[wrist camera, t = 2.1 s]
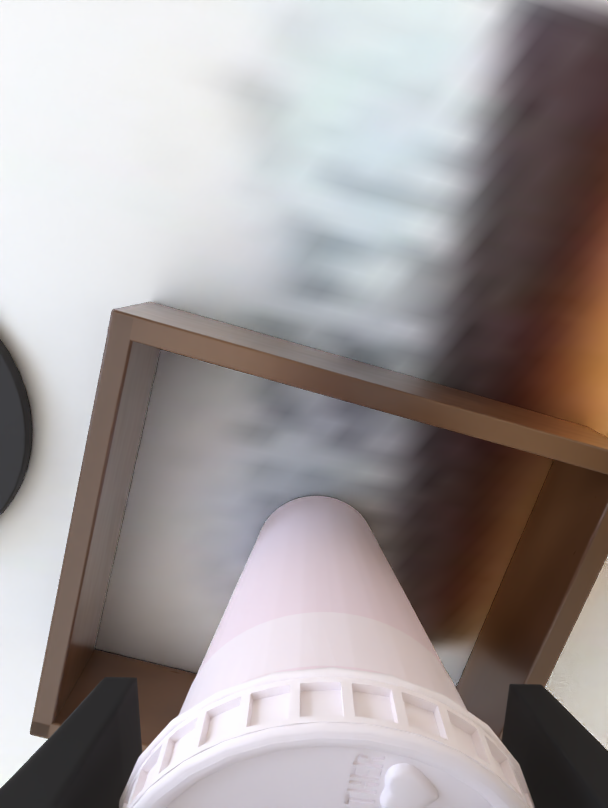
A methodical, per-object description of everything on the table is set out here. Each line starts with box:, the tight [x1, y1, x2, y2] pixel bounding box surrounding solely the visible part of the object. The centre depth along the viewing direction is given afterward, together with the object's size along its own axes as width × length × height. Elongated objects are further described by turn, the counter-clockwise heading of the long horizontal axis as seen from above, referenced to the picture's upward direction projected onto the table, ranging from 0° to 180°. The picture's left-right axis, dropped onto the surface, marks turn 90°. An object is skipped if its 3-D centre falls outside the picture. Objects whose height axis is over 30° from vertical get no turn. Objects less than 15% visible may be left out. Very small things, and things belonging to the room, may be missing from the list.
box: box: [30, 302, 608, 753], centre depth 15 cm, size 13×12×3 cm
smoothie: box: [119, 496, 535, 808], centre depth 10 cm, size 6×6×14 cm
